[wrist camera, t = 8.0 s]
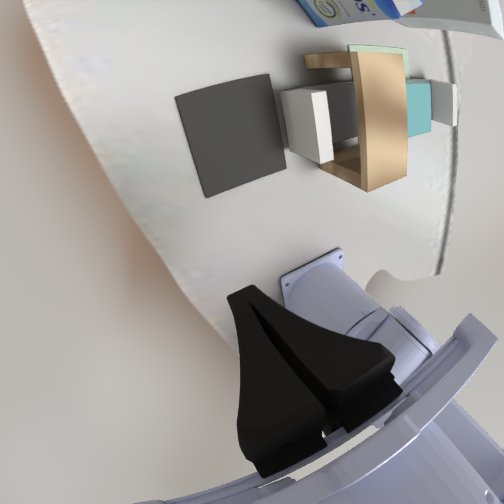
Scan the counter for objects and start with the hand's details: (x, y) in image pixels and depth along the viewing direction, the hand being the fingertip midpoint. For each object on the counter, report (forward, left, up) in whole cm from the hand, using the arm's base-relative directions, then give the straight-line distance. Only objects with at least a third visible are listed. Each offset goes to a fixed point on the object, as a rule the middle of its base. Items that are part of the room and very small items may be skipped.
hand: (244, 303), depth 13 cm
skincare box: (+17, -26, -11) cm, 33 cm away
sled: (+5, -19, -10) cm, 22 cm away
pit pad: (+5, -5, -10) cm, 13 cm away
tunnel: (+5, -15, -10) cm, 19 cm away
